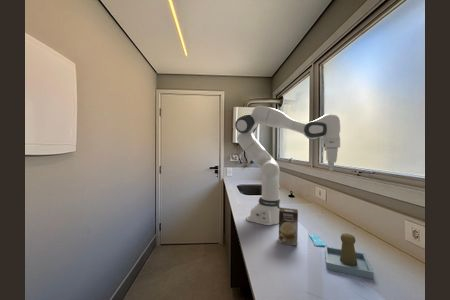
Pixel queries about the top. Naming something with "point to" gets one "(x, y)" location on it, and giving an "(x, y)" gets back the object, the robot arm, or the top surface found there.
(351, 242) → the cork
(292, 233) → the coffee box
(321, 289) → the top surface
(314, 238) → the sponge
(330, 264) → the tray
